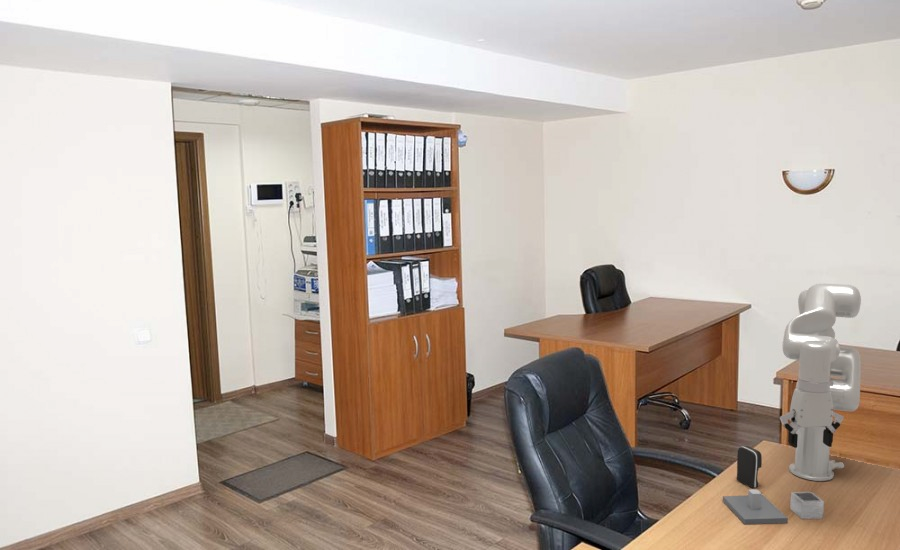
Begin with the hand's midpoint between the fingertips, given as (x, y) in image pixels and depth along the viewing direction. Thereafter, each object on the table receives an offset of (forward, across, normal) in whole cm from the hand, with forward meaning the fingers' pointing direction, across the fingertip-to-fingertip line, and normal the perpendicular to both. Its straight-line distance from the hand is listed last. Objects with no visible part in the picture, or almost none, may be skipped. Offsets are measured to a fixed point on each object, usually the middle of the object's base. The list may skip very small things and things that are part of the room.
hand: (810, 445), depth 190 cm
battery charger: (+20, +7, -20) cm, 29 cm away
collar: (+20, 0, 0) cm, 20 cm away
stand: (+20, +14, -2) cm, 25 cm away
